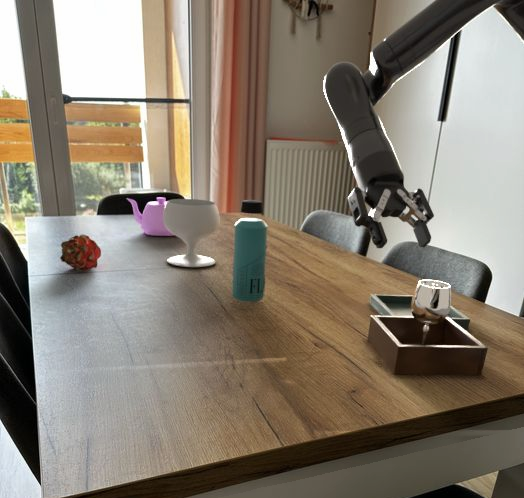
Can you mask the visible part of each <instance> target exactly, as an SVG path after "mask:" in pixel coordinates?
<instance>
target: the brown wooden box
mask: <svg viewBox="0 0 524 498" xmlns="http://www.w3.org/2000/svg"><path fill="white" fill-rule="evenodd" d="M368 326H369V327H368V333H367V341H368V343H369V344H370V345H371V347H372V348H373V350H374V351H375V352H376V354H377V355H378V357H380V358H381V360H382V361H383V363H384V364H385V365H386V367H387V368H388V369H389V371H391V373H392V374H393V375H395V376H482V374H483V369H484V366H485V362H486V357H487V354H488V351H489V350H488V349H489V347H487V346H486V345H485V344H484V343H482V342H481V341H480V340H479V339H477V338H476V337H474V336H473V335H472V334H470V333H469V332H468V330H464V329H463V328H462V327H460V326H459V325H458V324H456V323H455V322H454V321H453V320H451V319H450V318H449V317H446V319H445V320H443V321H442V322H440V323H437V324H433V325H428V326H429V332H428V334H427V336H426V339H425V343H427V344H424V345H421V344H422V338H423V333H422V329H423V327H424V326H425V324H423V323H421V322H419V321H418V320H416V319H415V318H414V317H413V316H381V315H379V314H376V315H373V314H371V315H370V321H369V325H368ZM402 343H418V344H402ZM419 343H420V344H419ZM429 343H431V344H429ZM437 344H438V345H437Z"/></svg>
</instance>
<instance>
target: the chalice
mask: <svg viewBox="0 0 524 498" xmlns="http://www.w3.org/2000/svg"><path fill="white" fill-rule="evenodd" d="M166 202H167V203H166V205H165V208H164V212H163V224H164V226H165V228H166V229H167V230H168V231H169V232H171V233H172V234H174V236H175V237H177V238H178V239H180V240H181V241H183V242H184V243H185V246H186V247H187V251H186V254H181V255H173V256H170V257H169V258H167V260H166V262H167V263H168V264H169V265H173V266H177V267H183V268H203V267H210V266H212V265H215V264H216V260H215V259H213V258H211V257H208V256H204V255H199V254H197V252H196V246H197V244H198V243H199V242H201V241H202V240H204V239H205V238H207V237H210V236H211V235H213V234H214V233H215V232H216V231H218V229H219V228H220V224H221V218H220V213H219V208H218V206H217V204H216V202H215V201H211V200H205V199H196V198H173V199H169V200H166Z"/></svg>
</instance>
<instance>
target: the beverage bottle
mask: <svg viewBox="0 0 524 498" xmlns="http://www.w3.org/2000/svg"><path fill="white" fill-rule="evenodd" d="M263 212H264V209H263V201H261V200H255V199H244V200H241V204H240V213H244V214H251V215H253V214H254V215H259V214H263ZM268 228H269V227H268V224H267V223H266V222H265V221H264V219H262V218H257V217H242V218H240V219H238V221H236V222H235V224H234V242H233V262H232V280H231V282H232V297H233V299H235V300H237V301H240V302H246V303H247V302H248V303H249V302H250V303H254V302H259V301H260V302H261V301H262V300H263V298H264V297H265V291H266V288H265V287H266V272H267V269H266V260H267V248H268V245H267V244H268V241H267V239H268Z"/></svg>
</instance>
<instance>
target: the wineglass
mask: <svg viewBox="0 0 524 498" xmlns="http://www.w3.org/2000/svg"><path fill="white" fill-rule="evenodd" d="M412 295H413V297H412V301H411V313H412V315H413V317H414V318H415V319H416V320H418V321H419V322H421V323H423V324H425V326H424V327H423V329H422V333H423V338H422V343H420V345H426V344H425V339H426V336H427V334H428V332H429V326H428V325H433V324H437V323H440V322H442V321H443V320H445V319H446V317H447V316H448V313H449V310H450V306H452V288H451V285H450V284H449V283H447V282H443V281H441V280H434V279H422V280H419V281H418V283H417V285H416V287H415V289H414V292H413V294H412Z"/></svg>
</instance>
